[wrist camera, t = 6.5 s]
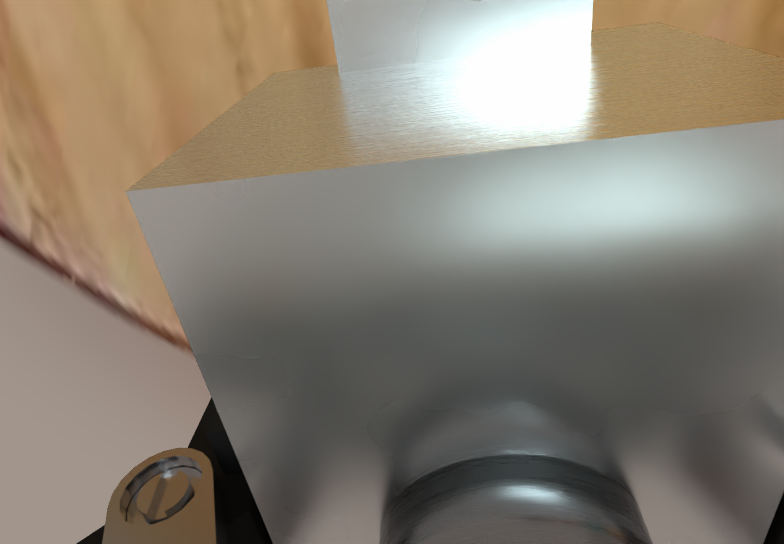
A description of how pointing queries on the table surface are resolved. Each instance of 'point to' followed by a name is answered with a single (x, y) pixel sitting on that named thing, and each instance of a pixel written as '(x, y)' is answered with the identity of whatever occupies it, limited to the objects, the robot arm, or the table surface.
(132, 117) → the table surface
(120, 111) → the table surface
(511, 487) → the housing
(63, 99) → the table surface
